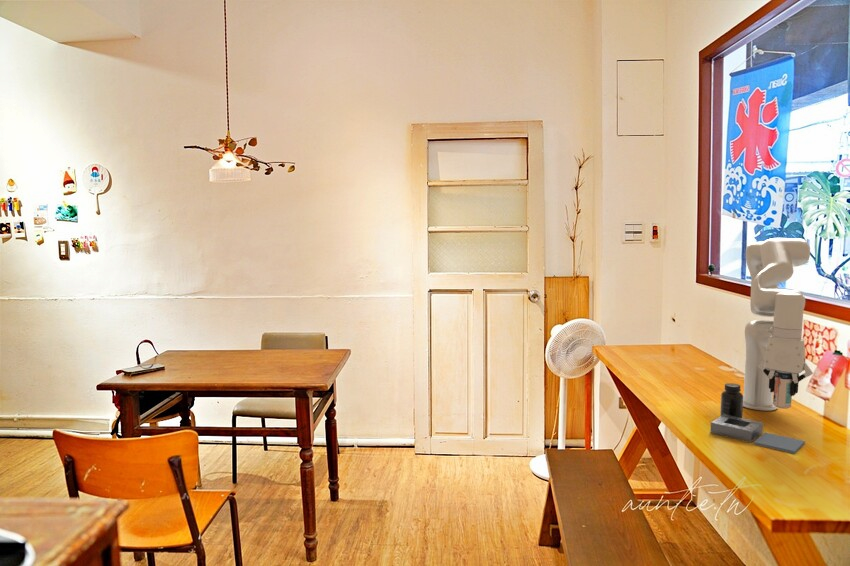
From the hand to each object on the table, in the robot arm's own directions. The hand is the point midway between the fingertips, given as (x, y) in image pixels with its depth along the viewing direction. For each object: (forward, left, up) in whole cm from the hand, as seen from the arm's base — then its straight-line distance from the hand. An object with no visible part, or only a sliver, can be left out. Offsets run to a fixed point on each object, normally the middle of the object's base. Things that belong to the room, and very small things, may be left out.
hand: (782, 392), depth 188 cm
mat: (0, 0, -16) cm, 16 cm away
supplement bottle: (-15, -19, -16) cm, 29 cm away
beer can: (0, 0, -5) cm, 5 cm away
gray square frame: (-1, -13, -16) cm, 20 cm away
